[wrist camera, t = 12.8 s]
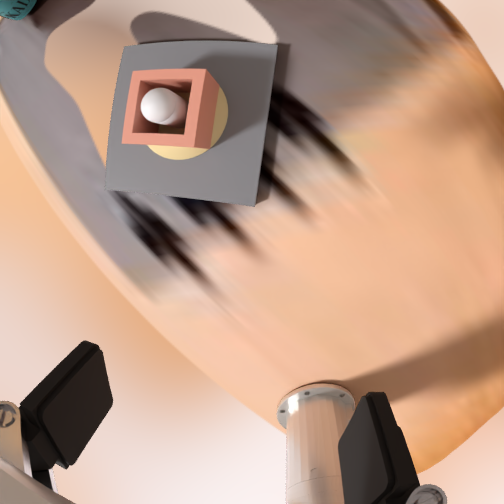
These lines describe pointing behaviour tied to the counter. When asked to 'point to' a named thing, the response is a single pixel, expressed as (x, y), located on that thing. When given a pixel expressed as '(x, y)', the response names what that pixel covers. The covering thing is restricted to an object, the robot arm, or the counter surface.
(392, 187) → the counter surface
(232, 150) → the post board
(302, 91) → the counter surface
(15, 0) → the beverage bottle
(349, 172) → the counter surface
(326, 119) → the counter surface
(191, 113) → the collar
